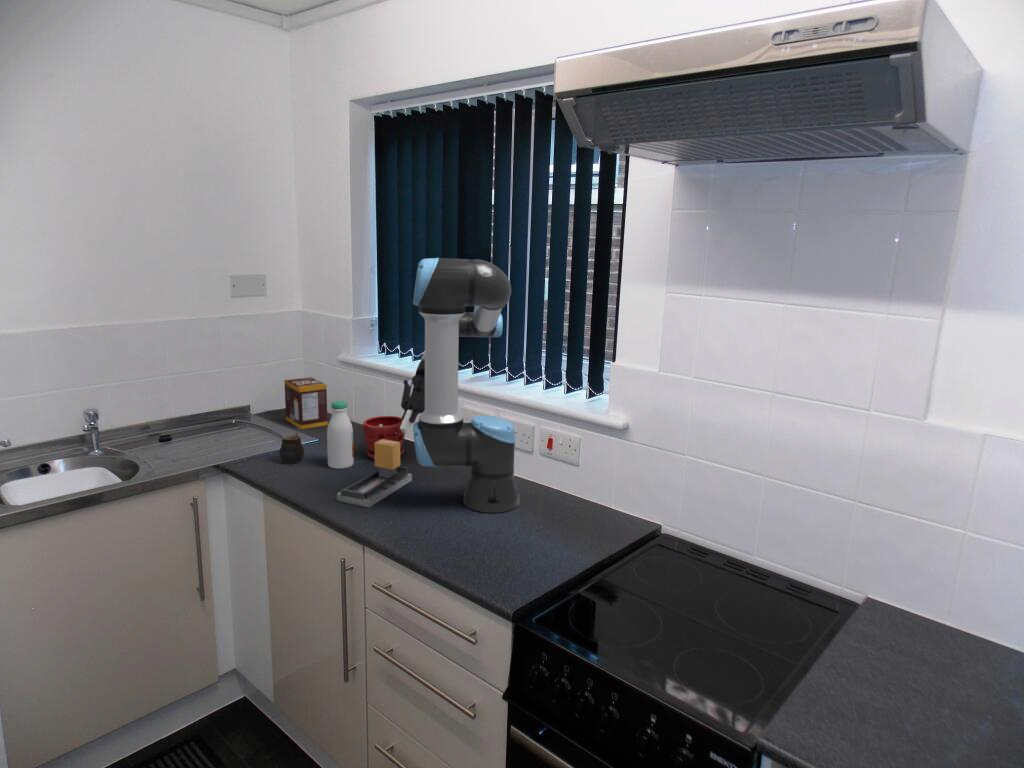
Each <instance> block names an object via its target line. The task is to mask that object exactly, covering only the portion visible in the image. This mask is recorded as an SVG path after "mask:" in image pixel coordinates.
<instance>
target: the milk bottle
mask: <svg viewBox="0 0 1024 768" xmlns="http://www.w3.org/2000/svg"><path fill="white" fill-rule="evenodd" d="M331 410H332V411H331V412H332V413H331V417H330V420H328V425H327V428H326V432H327V433H326V438H327V439H326V441H327V442H326V444H327V449H326V450H327V465H328V467H330V468H332V469H339V470H341V469H348V468H351V467H352V466H353V465H354V461H355V459H354V454H355V453H354V431H353V430H354V429H353V425H352V421H351V420H350V417H349V416H348V413H347V410H348V402H347V401H344V400H335V401H332V402H331Z"/></svg>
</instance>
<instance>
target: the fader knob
mask: <svg viewBox="0 0 1024 768" xmlns="http://www.w3.org/2000/svg"><path fill="white" fill-rule="evenodd" d="M398 466H401V456H400V442H397V441H391V440H385V439H381V440H379V441H377V442H375V459H374V467H375V468H377V467H378V470H379V476H380V477H386V478H390V477H392V476H394V475H395V474H397V467H398Z"/></svg>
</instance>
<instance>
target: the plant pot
mask: <svg viewBox="0 0 1024 768" xmlns="http://www.w3.org/2000/svg"><path fill="white" fill-rule="evenodd" d="M402 422H403V420H402V417H400V416H396V415H395V416H394V415H393V416H392V415H381V416H380V415H379V416H374V417H369V418H367V419H365V420H364V421H363V423H362V426H363V427H362V430H363V436H364V440H365V441H364V442H365V444H366V447H367V448H368V449H367V450H366V453H367V455H368V456H369V458H371V459H373V460H375V442H377V441H379V440H381V439H385V440H391V441H397V442H400V457H401V456H402V455H404V451H405V449H404V447H402V446H403V444H404V441H405V435H406V433H403V432H402V431H401V430H400V426H401V424H402Z"/></svg>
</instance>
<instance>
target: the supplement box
mask: <svg viewBox="0 0 1024 768" xmlns="http://www.w3.org/2000/svg"><path fill="white" fill-rule="evenodd" d="M327 391H328V390H327V384H326V383H324V382H322V381H320V380H317V379H316V378H313V377H312V376H310V377H308V376H307V377H299V378H292V379H291V378H289V379H284V400H285V420H286V421H287V422H289V423H290V424H292V425H293V426H295V427H297V429H298V428H300V429H299V430H306V429H312V428H317V427H323V426H328V424H329V420H328V400H327V399H328V396H327V395H328V394H327Z"/></svg>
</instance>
